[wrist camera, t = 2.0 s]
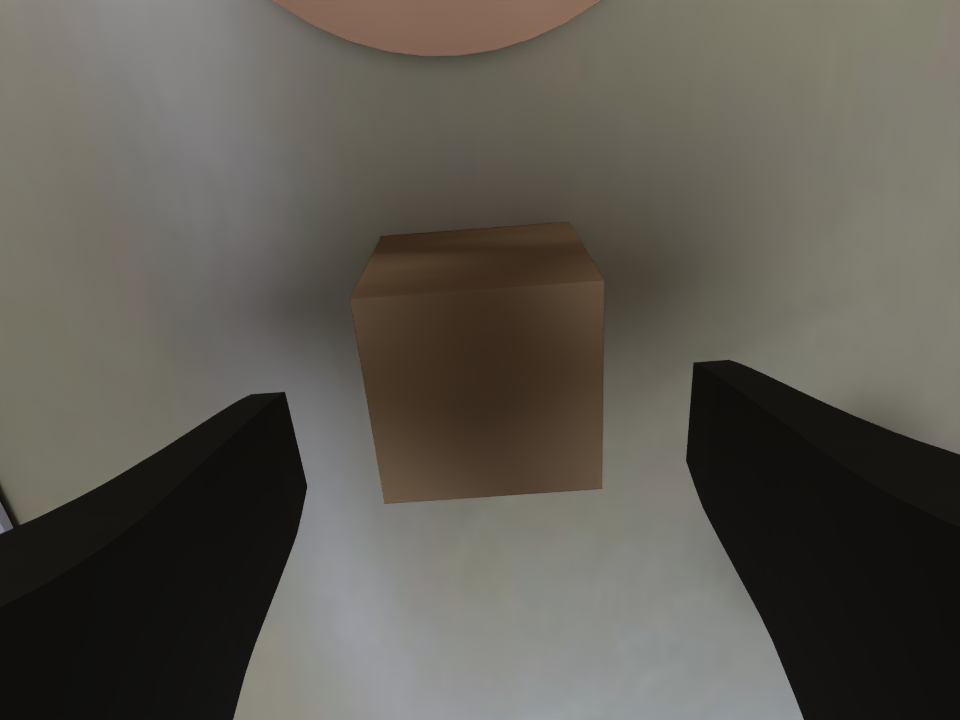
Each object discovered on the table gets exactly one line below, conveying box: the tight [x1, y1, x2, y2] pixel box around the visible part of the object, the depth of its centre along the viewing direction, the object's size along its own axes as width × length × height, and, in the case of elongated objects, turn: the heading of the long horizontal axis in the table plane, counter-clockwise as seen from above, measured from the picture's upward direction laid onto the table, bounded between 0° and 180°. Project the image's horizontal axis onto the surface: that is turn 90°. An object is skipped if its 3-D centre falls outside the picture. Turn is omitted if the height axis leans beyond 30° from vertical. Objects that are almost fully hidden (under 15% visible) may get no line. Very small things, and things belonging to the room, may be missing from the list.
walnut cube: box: [350, 222, 604, 504], centre depth 14 cm, size 4×4×4 cm
